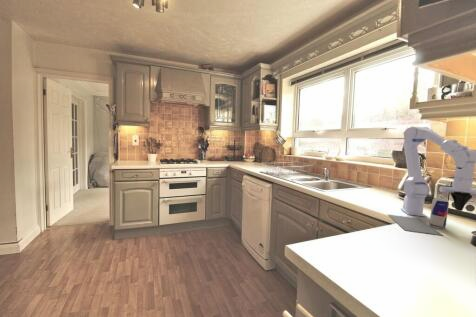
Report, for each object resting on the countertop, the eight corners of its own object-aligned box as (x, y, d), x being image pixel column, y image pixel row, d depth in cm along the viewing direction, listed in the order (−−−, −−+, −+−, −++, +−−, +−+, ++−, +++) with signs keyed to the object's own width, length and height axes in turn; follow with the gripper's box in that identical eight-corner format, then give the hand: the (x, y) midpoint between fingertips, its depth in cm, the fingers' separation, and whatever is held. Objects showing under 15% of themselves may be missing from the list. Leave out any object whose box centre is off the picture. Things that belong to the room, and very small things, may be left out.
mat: (388, 215, 114) (388, 214, 114) (419, 219, 110) (419, 218, 110) (404, 230, 95) (404, 229, 95) (443, 235, 91) (443, 235, 91)
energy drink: (440, 230, 97) (444, 202, 96) (426, 225, 102) (429, 198, 101) (448, 228, 99) (452, 201, 98) (433, 224, 104) (437, 197, 103)
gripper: (447, 178, 95) (443, 210, 96) (492, 181, 91) (487, 215, 92) (438, 175, 102) (434, 205, 103) (479, 178, 98) (474, 210, 99)
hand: (458, 210), depth 98 cm, fingers closed
